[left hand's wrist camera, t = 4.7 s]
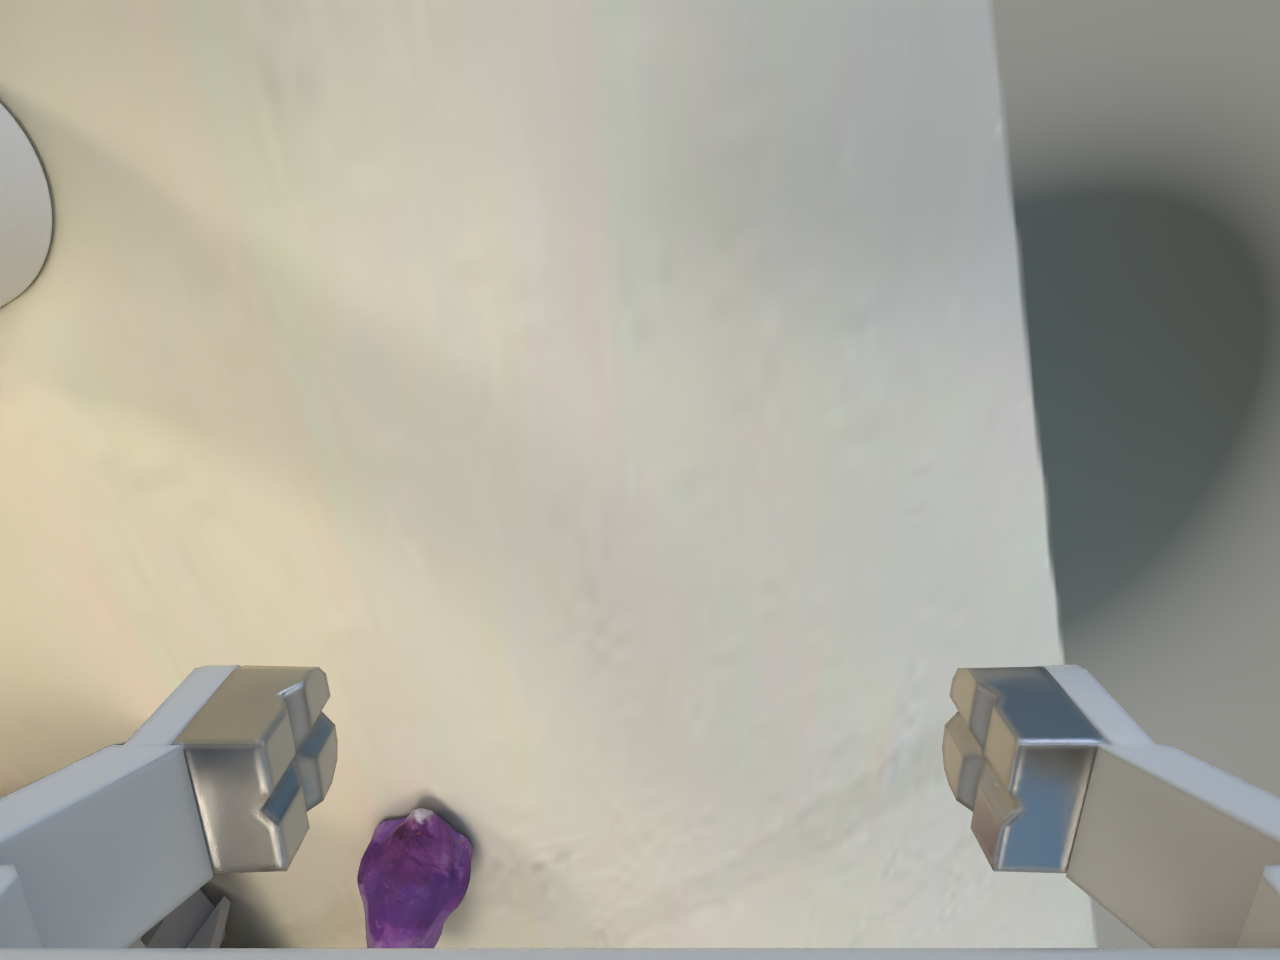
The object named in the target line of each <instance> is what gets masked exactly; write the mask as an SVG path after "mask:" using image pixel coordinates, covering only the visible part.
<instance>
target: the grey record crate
mask: <svg viewBox="0 0 1280 960" xmlns="http://www.w3.org/2000/svg"><path fill="white" fill-rule="evenodd" d="M230 905H231V903H230V901H229V900H228V899H227V898H226V897H225V896H223V898H222V899H221V901H220V902H219V903H218V905H217V906H216V908H215V907H214V906H213V905H212V903H211V902H210V901H209V900H208V898H207V897H206V896H205V895H204V894H203V892H202V891H201V890H200V889H198V890H197V891H196V892H195V893H194V894H192V895H191V896H190V897H189V898H187V899H186V900H185V901H184V902H183V903H181V904H180V905H179V906H178V907H177V908H175V909H174V910H173V911H172V912H170V913H169V914H168V915H167V916H166V917H164V918H163V919H162V920H161V921H160V922H158V923H157V924H156V925H155V926H153V927H152V928H151V929H150V930H149V931H147V932H146V933H145V934H144V936H143V937H142V936H141V937H140V938H139V939H138V940H136V941H135V942H134V943H133V944H132V945H130V946H129V947H128V948H219V947H220V945H221V943H222V941H223V940H224V938H225V924H226V920H227V916H228V913H229V909H230Z"/></svg>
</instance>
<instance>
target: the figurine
mask: <svg viewBox="0 0 1280 960" xmlns="http://www.w3.org/2000/svg"><path fill="white" fill-rule="evenodd" d="M472 848H473V847H472V845H471V842H470V840H469V839H468V838H467V837H465V836H464V835H463V834H460V833H458V832H457V831H456V830H455V829H454V828H453V827H451V826H450V825H449V824H448V823H447V822H446V821H444V820H443V819H442V818H440V817H439V816H438V815H436V814H435V813H434V812H433V811H431V810H428V809H424V808H416V809H414V810H412V811H411V812H410V814H409V815H408V816H407V817H404V818H402V817H401V818H400V819H394V820H386V821H383V822H381V823H380V824H379V825H378V826H377V827H376V829H375V831H374V834H373V837H372V840H371V842H370V844H369V846H368V848H367V849H366V851H365V853H364V855H363V857H362V860H361V863H360V867H359V872H358V886H359V891H360V895H361V898H362V901H363V904H364V910H365V921H366V939H367V948H434V947H435V945H436V944H437V942H438V940H439V938H440V935H441V933H442V928H443V923H444V922H445V920H446V919H447V918H448V916H449V915H450V914H451V913H452V912H453V911H454V910H455V909H456V908H457V907H458V906H459V904H460V903H461V901H462V899H463V898H464V896H465V893H466V891H467V888H468V884H469V880H470V872H471V857H472Z"/></svg>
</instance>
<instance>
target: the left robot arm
mask: <svg viewBox="0 0 1280 960" xmlns="http://www.w3.org/2000/svg"><path fill="white" fill-rule="evenodd" d="M51 235H52V206H51V199H50V194H49V189H48V185H47V181H46V178H45V175H44V172H43V169H42V167H41V164H40V162H39V159H38V157H37V155H36V153H35V151H34V149H33V147H32V145H31V144H30V142H29V140H28V138H27V137H26V135H25V134H24V132H23V130H22V129H21V128H20V126H19V125H18V123H17V122H16V121H15V119H14V118H13V117H12V116H11V114H10V113H9V112H8V111H7V110H6V109H5V107H4V106H3V105H2V104H1V103H0V308H1V307H2V306H4V305H5V304H7V303H8V302H10V301H11V300H13V299H14V298H16V297H17V296H19V295H20V294H21V293H22V292H23V291H24V290H26V289H27V288H28V286H29V285H30V284H31V283H32V282H33V281H34V279H35V278H36V276H37V275H38V273H39V272H40V270H41V268H42V266H43V264H44V261H45V259H46V256H47V253H48V250H49V246H50V241H51ZM329 697H330V691H329V687H328V682H327V677H326V673H325V672H324V671H322V670H321V669H320V668H319V667H289V666H239V665H208V666H202V667H198V668H195V669H194V670H193V671H192V672H191V673H190V674H189V675H188V677H187V678H186V679H185V680H184V681H183V682H182V683H181V684H180V685H179V686H178V687H177V688H176V689H175V690H174V692H173V693H172V694H171V695H170V696H169V697H168V698H167V699H166V700H165V701H164V702H163V703H162V704H161V705H160V707H159V708H158V709H157V710H156V711H155V712H154V713H153V714H152V715H151V716H150V717H149V718H148V719H147V720H146V722H145V723H144V724H143V725H142V726H141V727H140V728H139V729H138V730H137V731H136V732H135V733H134V734H133V735H132V737H131V738H130V739H129V740H128V741H127V742H126V743H125V744H124V745H110V746H108V747H106V748H103V749H101V750H99V751H97V752H95V753H93V754H91V755H89V756H87V757H85V758H83V759H81V760H79V761H76V762H74V763H72V764H70V765H68V766H66V767H64V768H62V769H60V770H58V771H56V772H54V773H52V774H50V775H47V776H45V777H43V778H41V779H39V780H37V781H35V782H33V783H31V784H29V785H27V786H25V787H23V788H20V789H18V790H16V791H14V792H12V793H10V794H8V795H6V796H4V797H2V798H0V960H1280V798H1278V797H1276V796H1274V795H1272V794H1270V793H1268V792H1265V791H1263V790H1261V789H1259V788H1257V787H1255V786H1253V785H1251V784H1249V783H1247V782H1245V781H1243V780H1241V779H1239V778H1236V777H1234V776H1232V775H1230V774H1228V773H1226V772H1224V771H1222V770H1220V769H1218V768H1216V767H1214V766H1212V765H1210V764H1208V763H1206V762H1203V761H1201V760H1199V759H1197V758H1195V757H1193V756H1191V755H1189V754H1187V753H1185V752H1183V751H1181V750H1178V749H1177V748H1174V747H1172V746H1170V745H1156V744H1155V743H1154V742H1153V741H1152V740H1151V739H1150V738H1149V737H1148V735H1147V734H1146V733H1145V732H1144V731H1143V730H1142V729H1141V728H1140V727H1139V726H1138V725H1137V724H1136V723H1135V722H1134V720H1133V719H1132V718H1131V717H1130V716H1129V715H1128V714H1127V713H1126V712H1125V711H1124V710H1123V709H1122V708H1121V706H1120V705H1119V704H1118V703H1117V702H1116V701H1115V700H1114V699H1113V698H1112V697H1111V696H1110V695H1109V694H1108V692H1107V691H1106V690H1105V689H1104V688H1103V687H1102V686H1101V685H1100V684H1099V683H1098V682H1097V681H1096V680H1095V679H1094V678H1093V676H1092V675H1091V674H1090V673H1089V672H1088V671H1087V670H1086V669H1084V668H1082V667H1080V666H1077V665H1056V666H1036V667H998V668H958V669H957V671H956V673H955V675H954V677H953V680H952V685H951V691H950V697H951V699H952V701H953V702H954V704H955V706H956V707H957V709H958V712H957V713H956V714H955V715H954V716H953V717H952V718H951V719H950V720H949V721H948V722H947V723H946V724H945V728H944V737H943V745H942V750H943V761H944V770H945V773H946V776H947V780H948V783H949V786H950V788H951V790H952V792H953V794H954V796H955V798H956V800H957V801H958V802H960V803H961V804H963V805H964V806H965V807H967V808H968V809H970V810H971V811H973V817H972V823H971V829H972V831H973V833H974V835H975V837H976V839H977V841H978V843H979V845H980V846H981V848H982V850H983V852H984V854H985V856H986V858H987V860H988V862H989V864H990V865H991V867H992V869H993V871H1008V872H1043V873H1067V875H1066V877H1067V878H1069V879H1070V880H1071V881H1072V882H1073V883H1075V884H1076V885H1077V886H1078V887H1080V888H1081V889H1082V890H1083V891H1084V892H1086V893H1087V894H1088V895H1089V896H1090V897H1092V898H1093V899H1094V900H1095V901H1097V902H1098V903H1099V904H1100V905H1101V906H1103V907H1104V908H1105V909H1106V910H1107V911H1109V912H1110V913H1111V914H1112V915H1114V916H1115V917H1116V918H1117V919H1118V920H1120V921H1121V922H1122V923H1123V924H1124V925H1126V926H1127V927H1128V928H1129V929H1130V930H1132V931H1133V932H1134V933H1135V934H1137V935H1138V936H1139V937H1140V938H1141V939H1143V940H1144V941H1145V942H1146V943H1147V944H1149V945H1150V946H1151V947H1152V948H128V947H129V946H130V945H132V944H133V943H134V942H135V941H136V940H138V939H139V938H140V937H141V936H142V935H144V934H145V933H146V932H147V931H149V930H150V929H151V928H152V927H153V926H155V925H156V924H157V923H158V922H160V921H161V920H162V919H163V918H164V917H166V916H167V915H168V914H169V913H170V912H172V911H173V910H174V909H175V908H177V907H178V906H179V905H180V904H181V903H183V902H184V901H185V900H186V899H187V898H189V897H190V896H191V895H192V894H194V893H195V892H196V891H197V890H198V889H200V888H201V887H202V886H203V885H205V884H206V883H207V882H208V881H209V880H211V879H212V878H213V876H214V875H213V873H236V872H270V871H287V869H288V868H289V866H290V864H291V862H292V860H293V858H294V856H295V854H296V852H297V850H298V848H299V847H300V845H301V843H302V841H303V839H304V837H305V835H306V833H307V831H308V829H309V823H308V817H307V811H309V810H310V809H312V808H313V807H315V806H316V805H317V804H319V803H320V802H322V801H323V800H324V798H325V796H326V794H327V792H328V790H329V788H330V786H331V784H332V780H333V776H334V772H335V767H336V763H337V735H336V728H335V724H334V723H333V722H332V721H331V720H330V719H329V718H328V717H327V716H326V715H325V714H324V713H323V712H322V709H323V707H324V706H325V704H326V702H327V701H328V699H329Z"/></svg>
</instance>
